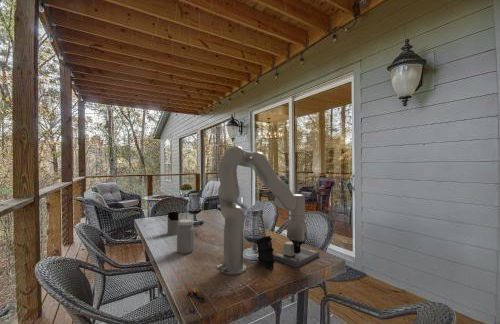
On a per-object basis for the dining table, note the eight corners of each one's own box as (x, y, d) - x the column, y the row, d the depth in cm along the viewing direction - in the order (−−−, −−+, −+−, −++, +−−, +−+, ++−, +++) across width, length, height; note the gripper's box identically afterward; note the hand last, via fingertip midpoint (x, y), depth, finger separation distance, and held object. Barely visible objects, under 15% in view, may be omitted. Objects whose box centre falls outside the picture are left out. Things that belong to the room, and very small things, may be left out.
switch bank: (296, 267, 124) (296, 262, 124) (273, 259, 134) (273, 254, 134) (319, 256, 139) (319, 251, 139) (296, 249, 150) (296, 245, 150)
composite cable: (206, 302, 93) (206, 295, 93) (194, 306, 90) (194, 299, 90) (196, 291, 101) (196, 284, 101) (185, 294, 99) (185, 288, 99)
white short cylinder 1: (290, 256, 131) (290, 245, 131) (283, 254, 134) (283, 243, 134) (295, 254, 134) (295, 243, 134) (288, 252, 137) (288, 241, 137)
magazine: (271, 268, 119) (264, 236, 124) (259, 270, 129) (253, 241, 135) (277, 267, 120) (271, 235, 126) (265, 269, 131) (260, 240, 137)
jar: (189, 255, 140) (190, 223, 140) (173, 253, 141) (174, 222, 142) (196, 249, 149) (197, 219, 149) (181, 247, 151) (182, 218, 151)
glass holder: (166, 232, 184) (166, 212, 184) (185, 230, 190) (185, 210, 190) (167, 235, 176) (167, 214, 176) (187, 233, 182) (188, 213, 182)
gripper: (281, 216, 133) (281, 250, 133) (305, 221, 123) (305, 258, 123) (290, 214, 139) (289, 247, 139) (313, 219, 128) (313, 254, 128)
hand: (297, 252), depth 131 cm, fingers closed
